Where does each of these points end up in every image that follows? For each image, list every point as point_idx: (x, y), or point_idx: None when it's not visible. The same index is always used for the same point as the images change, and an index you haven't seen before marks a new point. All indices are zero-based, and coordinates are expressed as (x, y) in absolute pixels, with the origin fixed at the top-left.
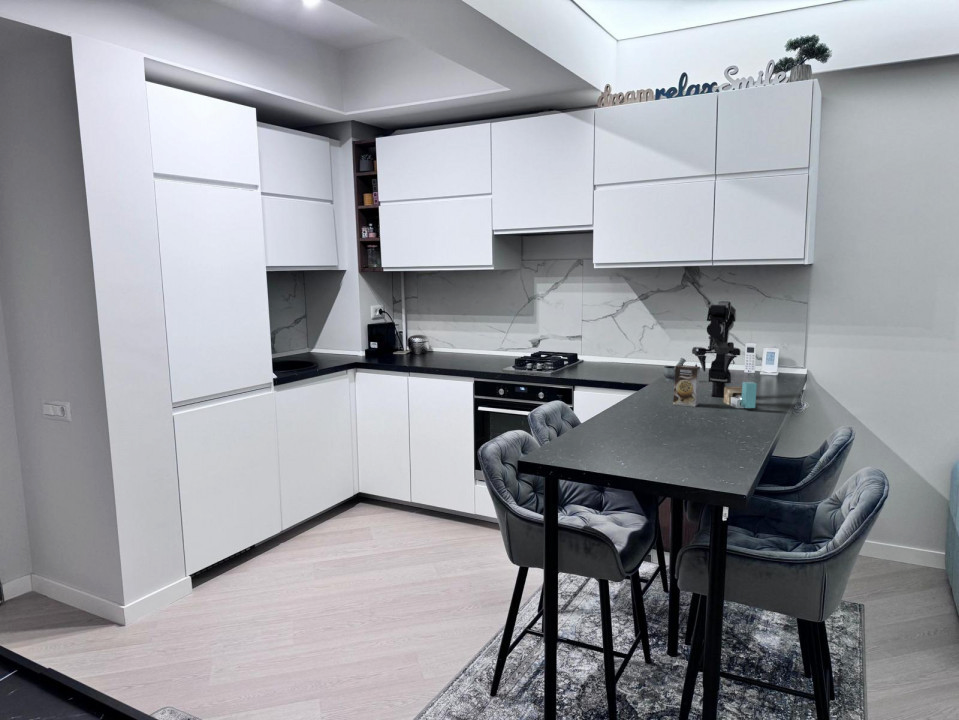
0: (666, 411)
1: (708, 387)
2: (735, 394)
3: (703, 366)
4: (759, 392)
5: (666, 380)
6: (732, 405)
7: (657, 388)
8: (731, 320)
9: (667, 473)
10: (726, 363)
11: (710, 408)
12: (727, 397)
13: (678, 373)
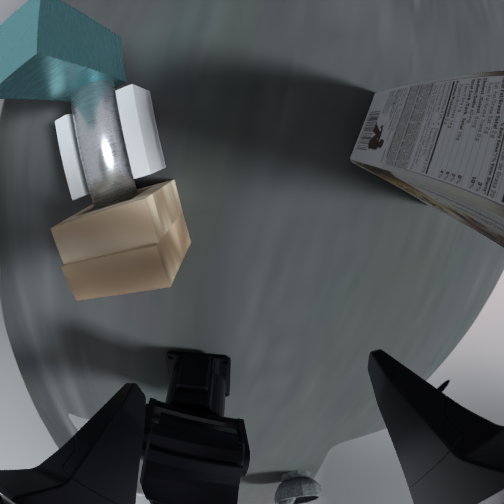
0: (471, 28)
1: None
2: None
3: (421, 380)
4: (84, 407)
5: (309, 472)
6: (159, 143)
7: (376, 416)
8: None
9: None
10: (110, 457)
11: (301, 56)
12: (169, 208)
13: None
